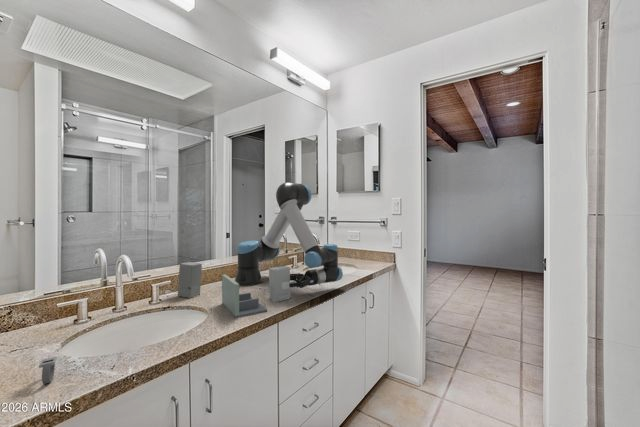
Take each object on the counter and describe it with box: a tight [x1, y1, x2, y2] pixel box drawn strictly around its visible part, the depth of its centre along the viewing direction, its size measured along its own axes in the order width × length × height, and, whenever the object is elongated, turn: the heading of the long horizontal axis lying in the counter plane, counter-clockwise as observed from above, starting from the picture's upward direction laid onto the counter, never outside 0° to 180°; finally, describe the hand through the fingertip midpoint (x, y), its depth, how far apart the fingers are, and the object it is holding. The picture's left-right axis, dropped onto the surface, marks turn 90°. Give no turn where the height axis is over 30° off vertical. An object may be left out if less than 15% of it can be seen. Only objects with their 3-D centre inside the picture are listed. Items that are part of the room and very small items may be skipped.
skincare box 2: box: [268, 265, 291, 303], centre depth 130 cm, size 8×6×15 cm
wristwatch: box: [38, 356, 58, 385], centre depth 67 cm, size 6×3×5 cm, turn 35°
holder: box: [221, 274, 268, 319], centre depth 119 cm, size 20×13×13 cm, turn 33°
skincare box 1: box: [177, 261, 203, 299], centre depth 136 cm, size 8×7×16 cm
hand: (275, 282), depth 129 cm, fingers open, 13 cm apart
